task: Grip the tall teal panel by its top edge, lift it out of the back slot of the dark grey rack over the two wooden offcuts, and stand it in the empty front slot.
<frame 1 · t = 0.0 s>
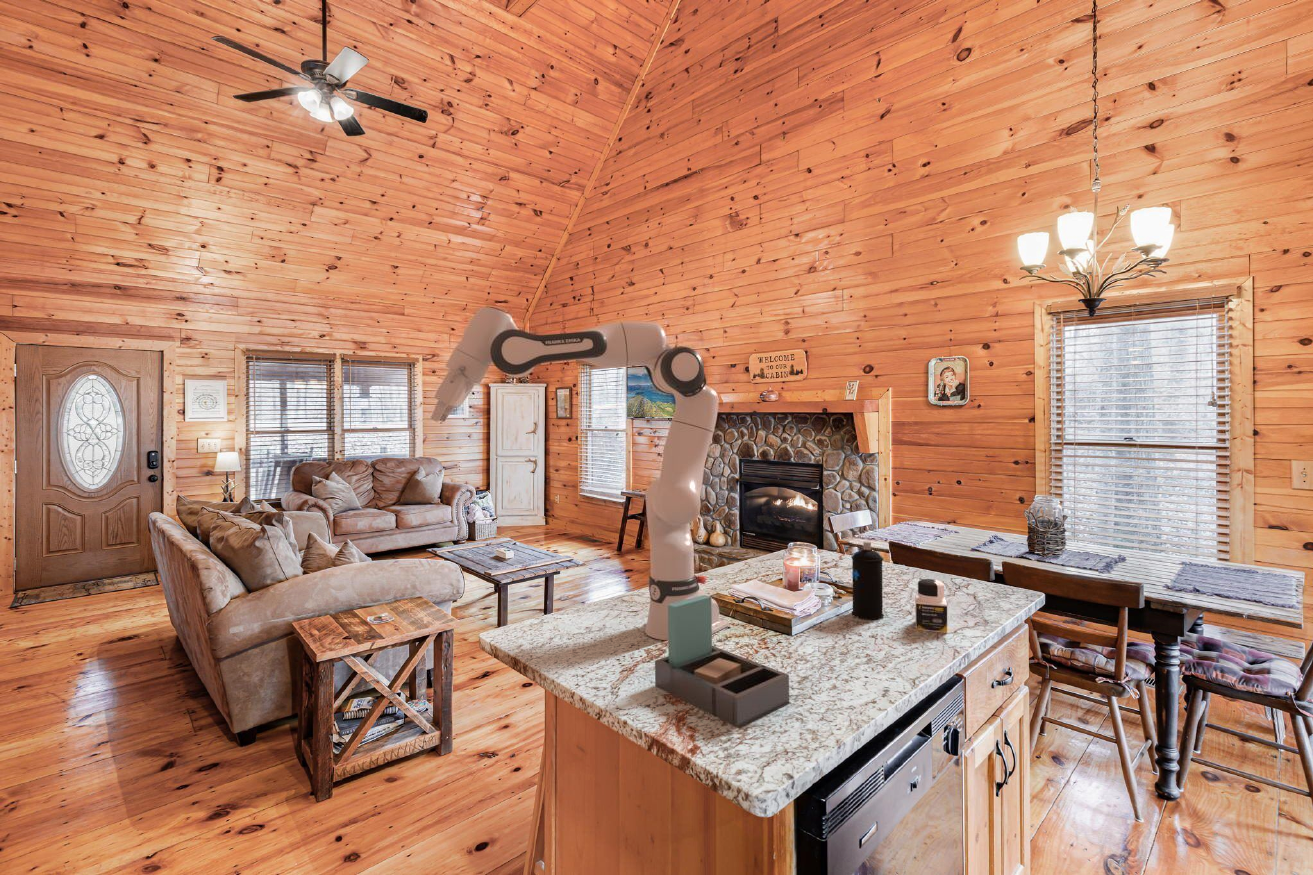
hand: (437, 420, 140), 54 cm above the worktop, tool tilted 30°, fingers open, 8 cm apart
rack: (724, 703, 113), on the worktop
aerosol can: (867, 615, 163), on the worktop
medicine bottle: (931, 628, 153), on the worktop
teal panel: (691, 680, 120), point 1 cm above the worktop, touching rack
walnut offcut: (717, 680, 113), point 4 cm above the worktop, touching birch offcut
birch offcut: (719, 693, 114), point 1 cm above the worktop, touching rack, walnut offcut
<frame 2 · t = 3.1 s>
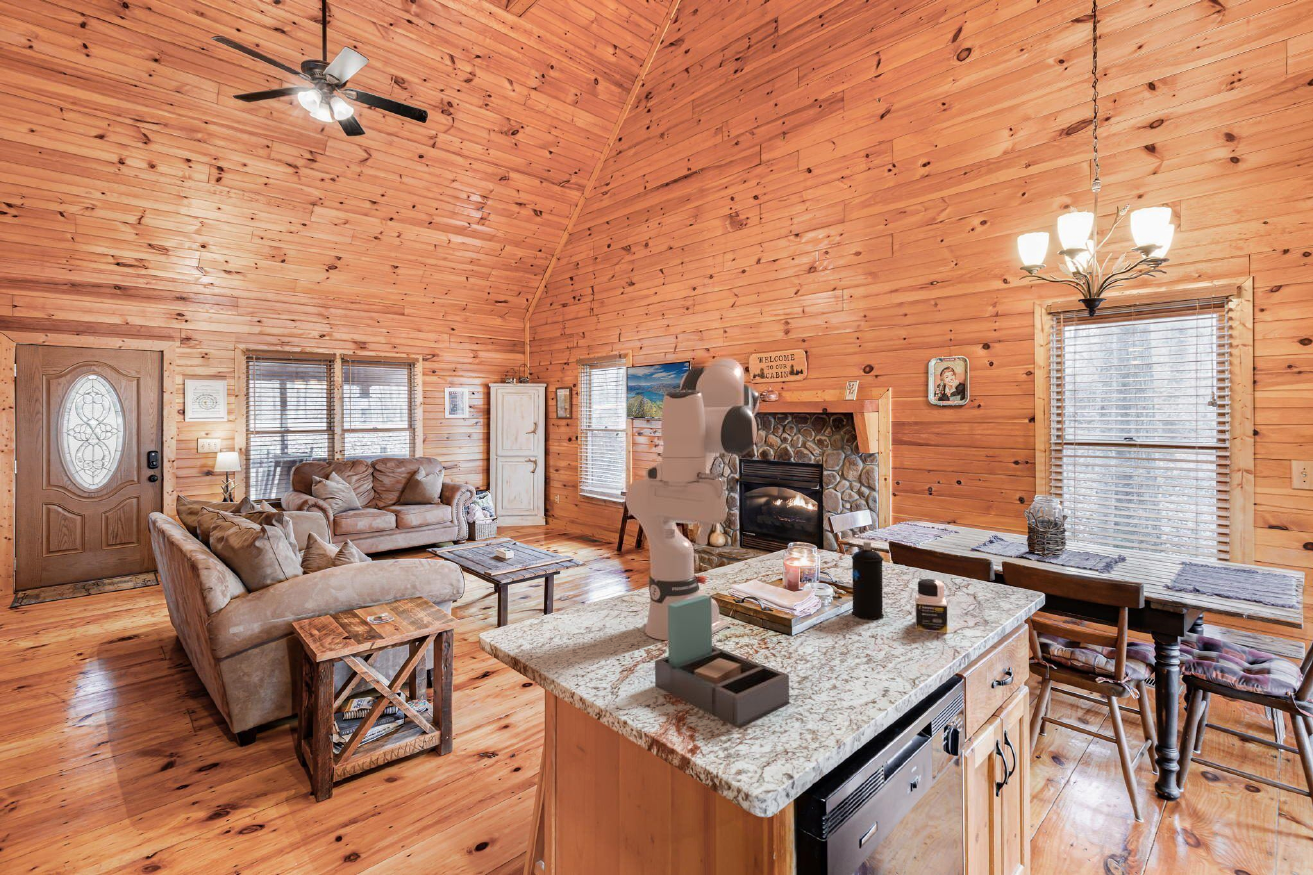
hand: (685, 541, 119), 30 cm above the worktop, tool pointing down, fingers open, 8 cm apart
nothing on the worktop moved.
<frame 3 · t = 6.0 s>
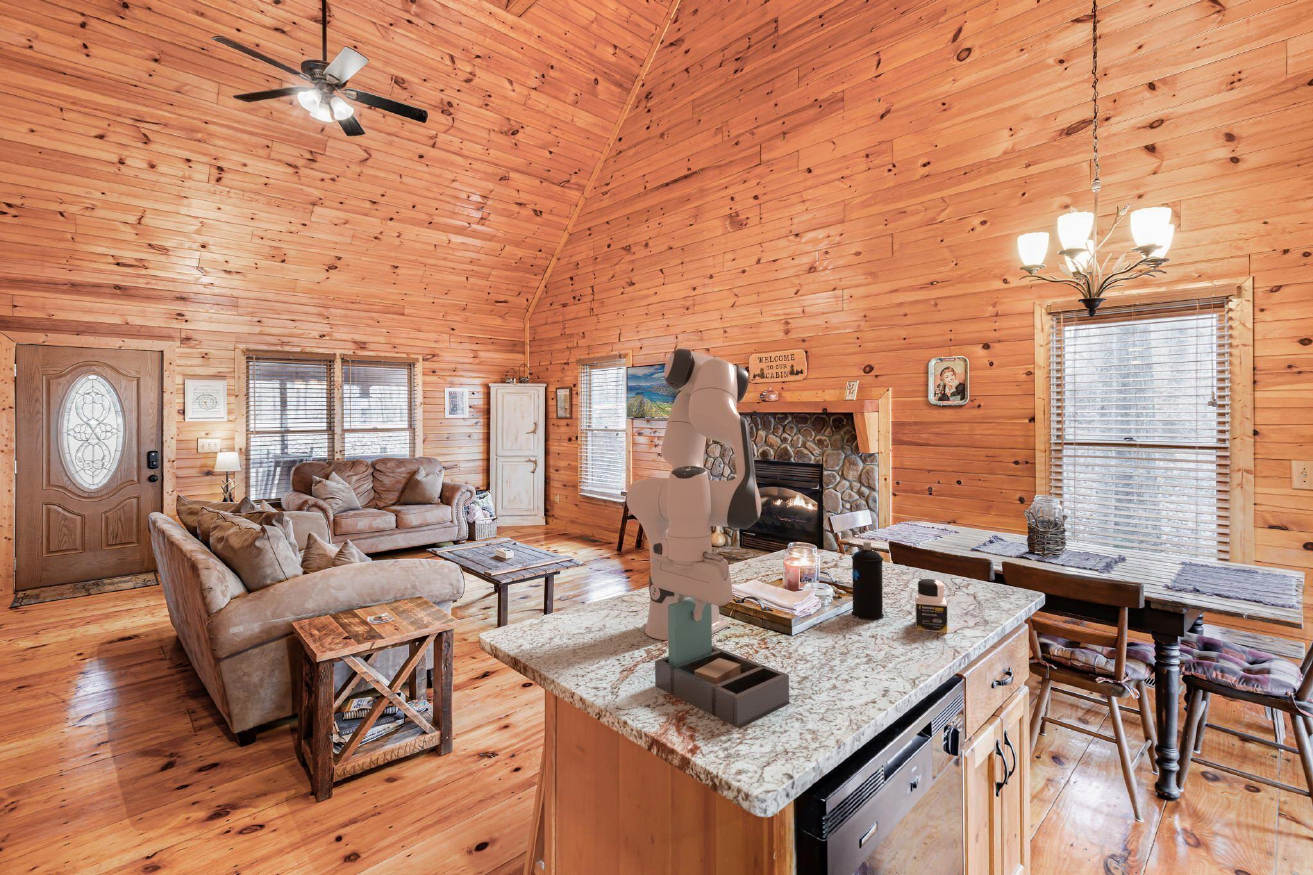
hand: (690, 617, 119), 14 cm above the worktop, tool pointing down, fingers closed on teal panel, 2 cm apart
teal panel: (691, 680, 120), point 1 cm above the worktop, touching gripper, rack
everything else where it was.
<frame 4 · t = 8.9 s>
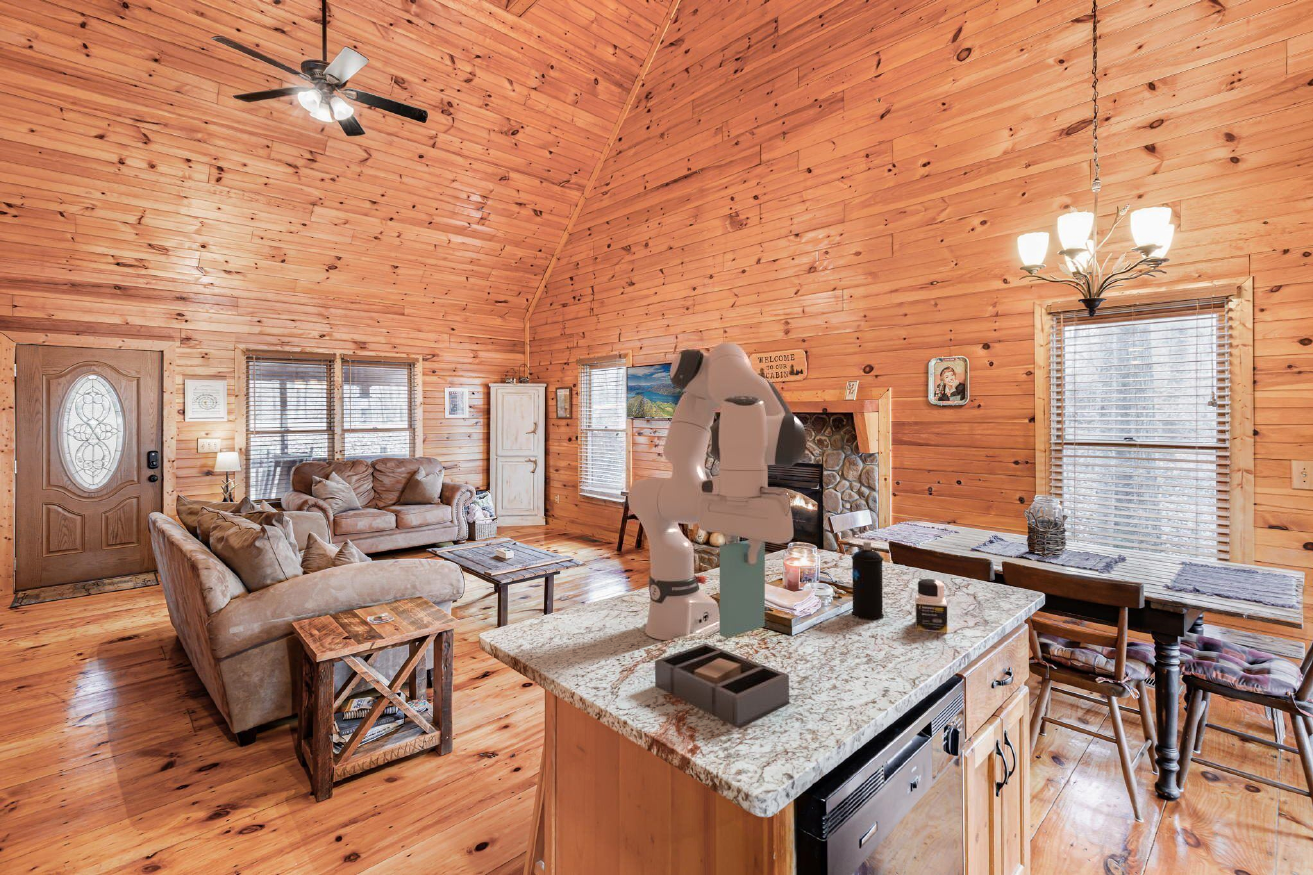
hand: (743, 561, 109), 28 cm above the worktop, tool pointing down, fingers closed on teal panel
teal panel: (742, 630, 109), point 15 cm above the worktop, touching gripper
everything else where it was.
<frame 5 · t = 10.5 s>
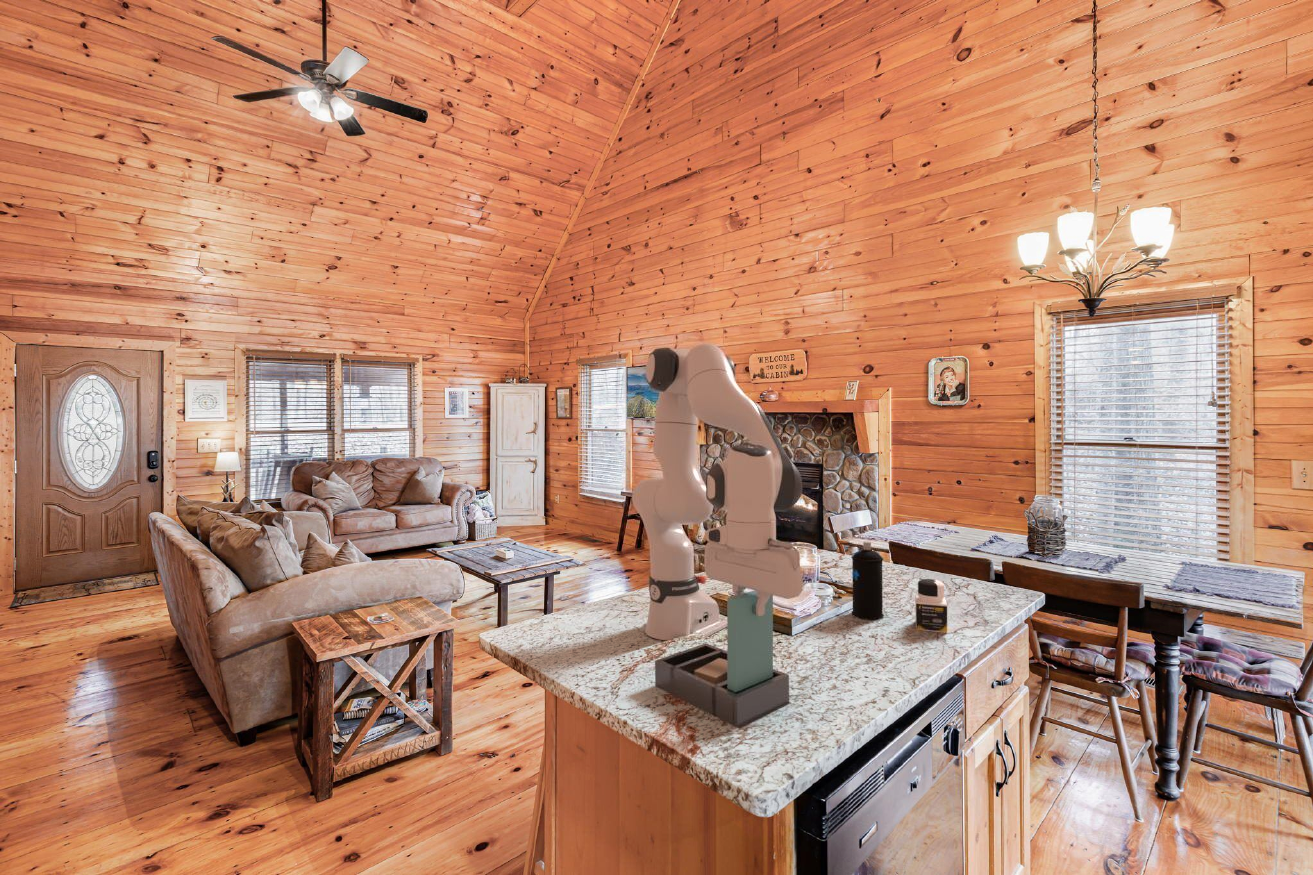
hand: (750, 612, 107), 19 cm above the worktop, tool pointing down, fingers closed on teal panel
teal panel: (750, 682, 107), point 6 cm above the worktop, touching gripper
everything else where it was.
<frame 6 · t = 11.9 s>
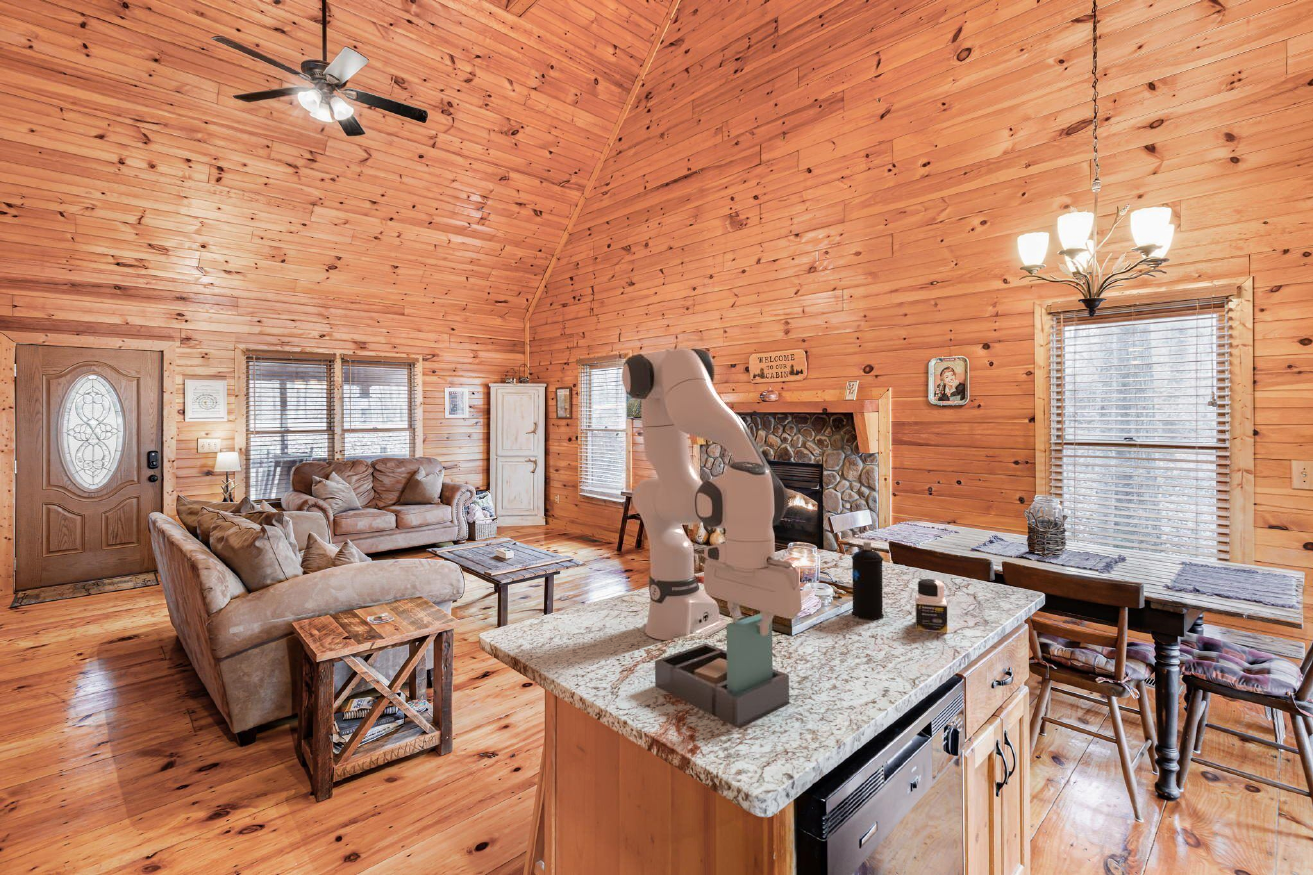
hand: (750, 630, 107), 16 cm above the worktop, tool pointing down, fingers open, 4 cm apart
teal panel: (750, 707, 108), point 1 cm above the worktop, touching rack
everything else where it was.
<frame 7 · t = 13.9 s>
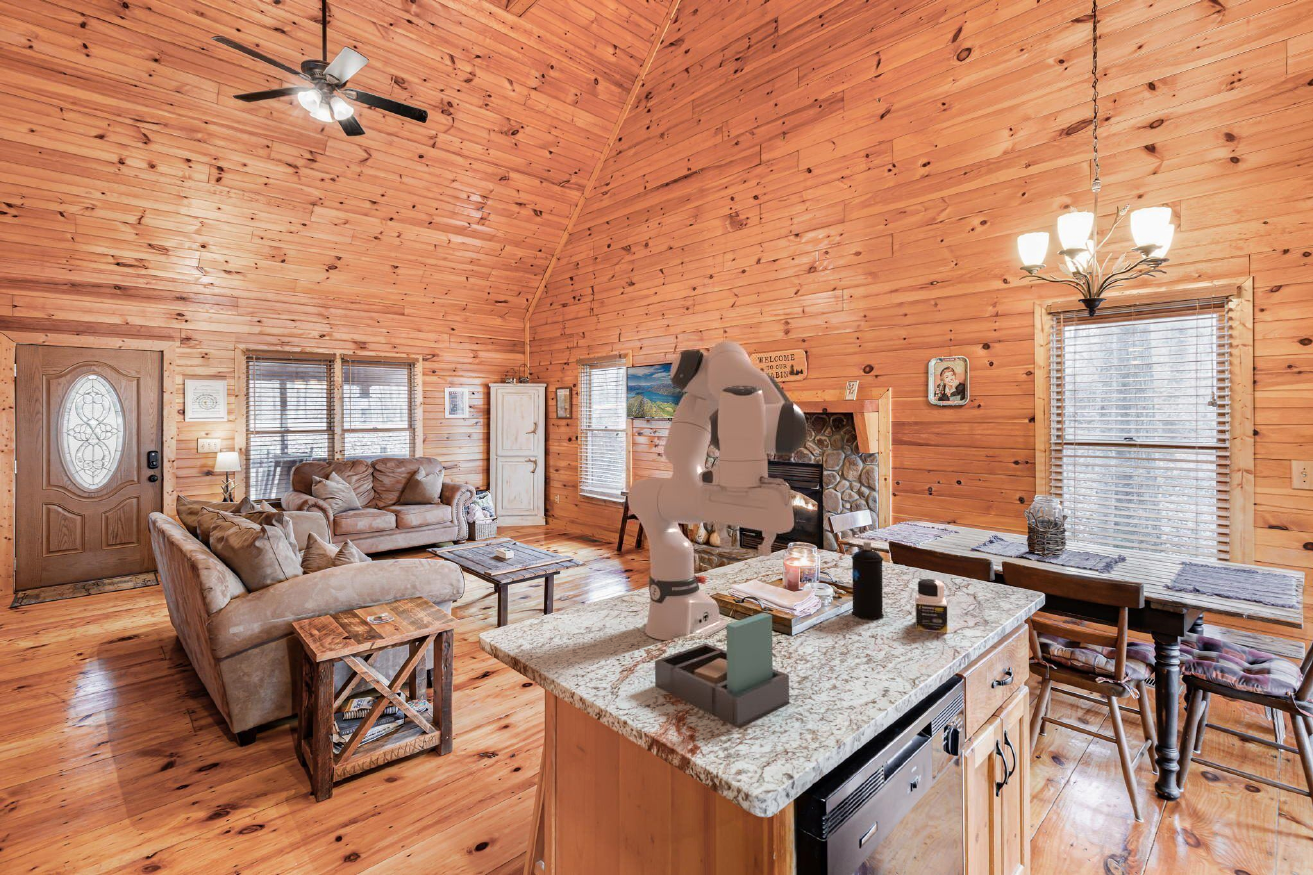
hand: (744, 550, 109), 29 cm above the worktop, tool pointing down, fingers open, 8 cm apart
nothing on the worktop moved.
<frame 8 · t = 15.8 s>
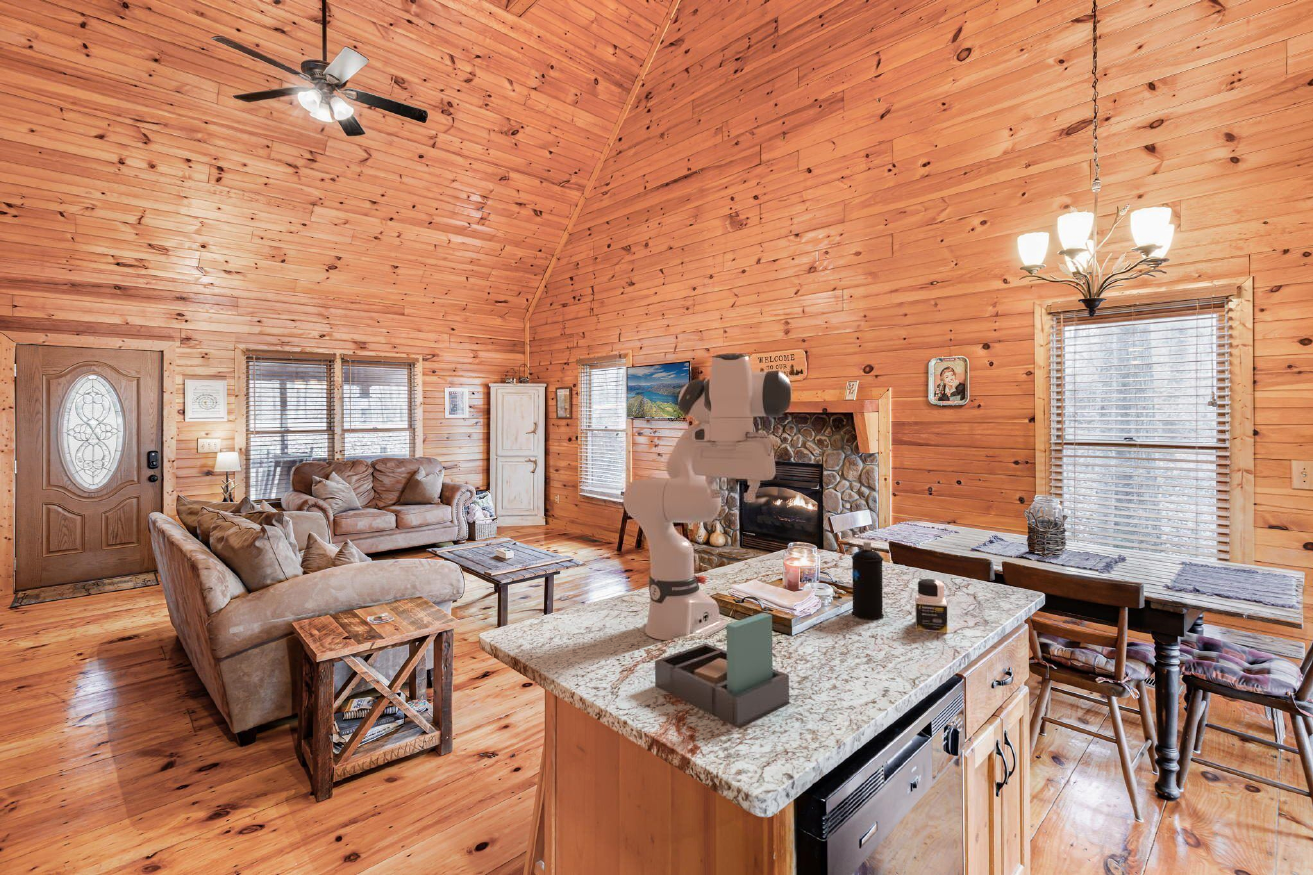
hand: (732, 500, 122), 37 cm above the worktop, tool pointing down, fingers open, 8 cm apart
nothing on the worktop moved.
at the end: teal panel 0.1 cm from the target spot on the rack, point 1.5 cm above the rack's base; teal panel tilted 0°; the gripper is holding nothing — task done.
